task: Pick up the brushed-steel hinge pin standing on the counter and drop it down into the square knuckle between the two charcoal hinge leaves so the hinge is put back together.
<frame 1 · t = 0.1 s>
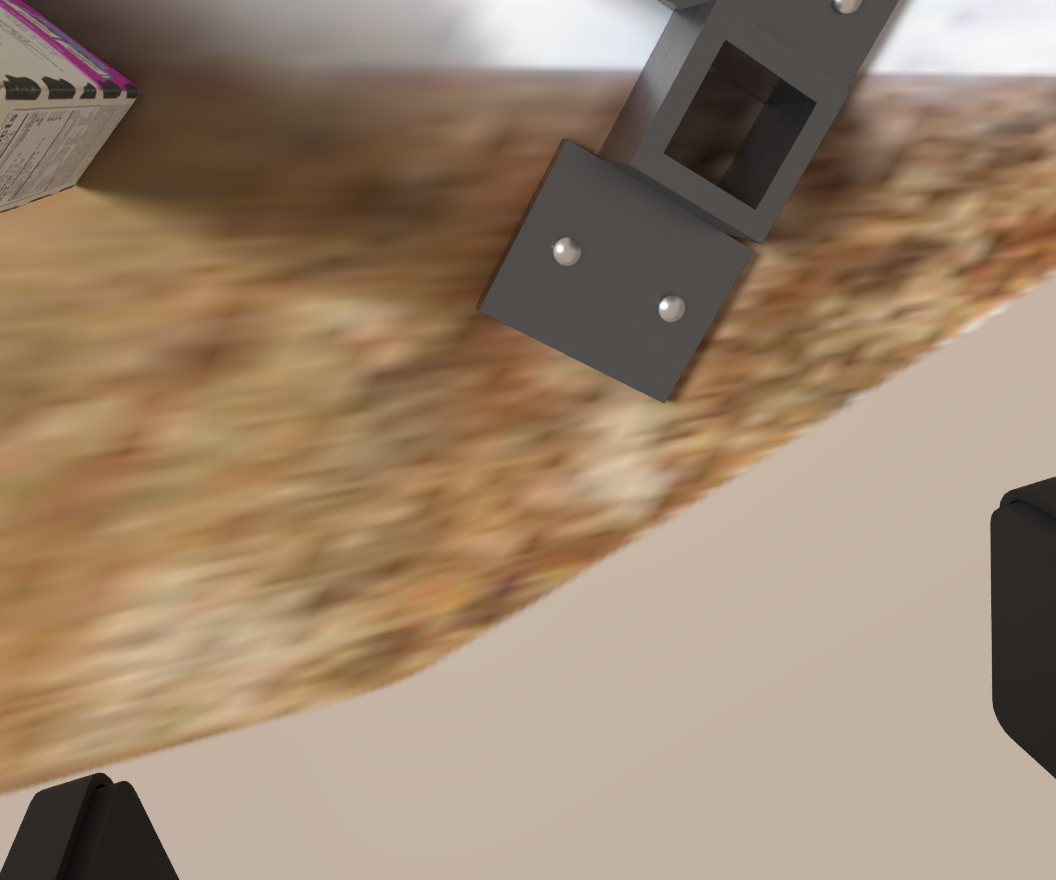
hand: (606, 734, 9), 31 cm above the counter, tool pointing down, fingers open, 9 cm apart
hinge: (696, 126, 39), on the counter
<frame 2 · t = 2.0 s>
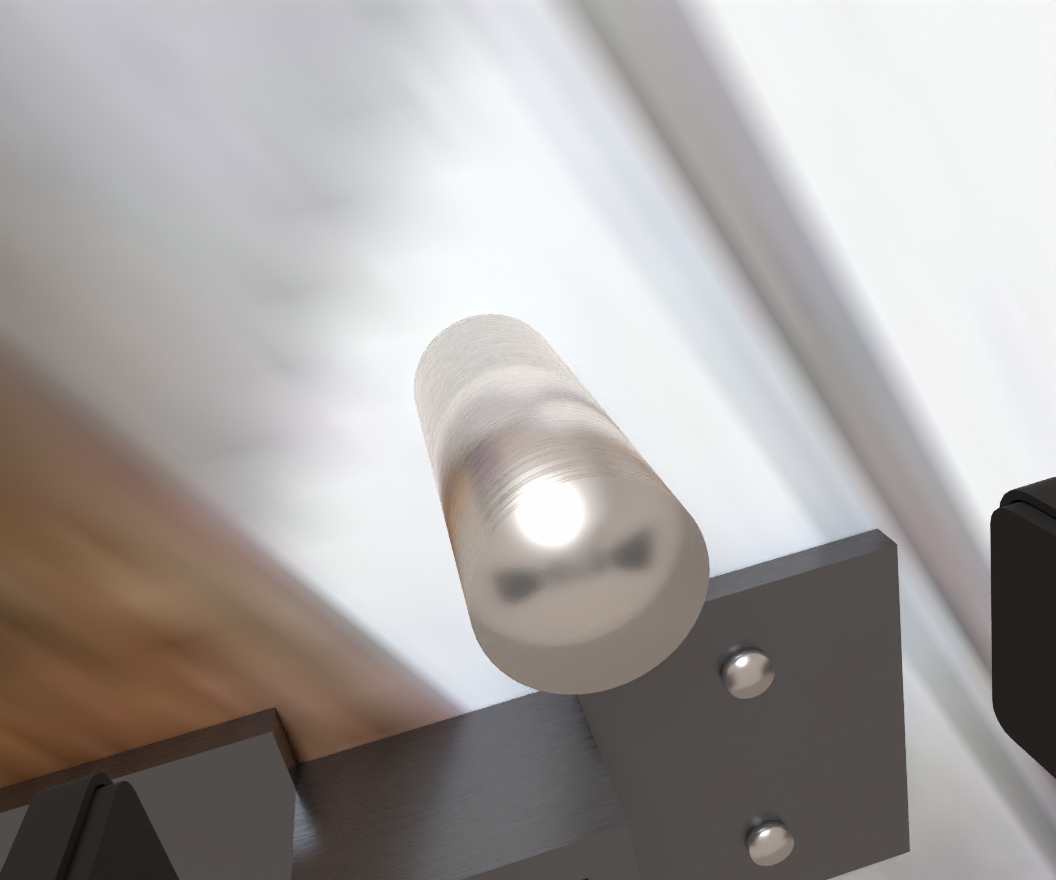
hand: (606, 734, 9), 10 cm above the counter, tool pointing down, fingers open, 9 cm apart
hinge: (468, 824, 22), on the counter
pin: (488, 387, 18), on the counter
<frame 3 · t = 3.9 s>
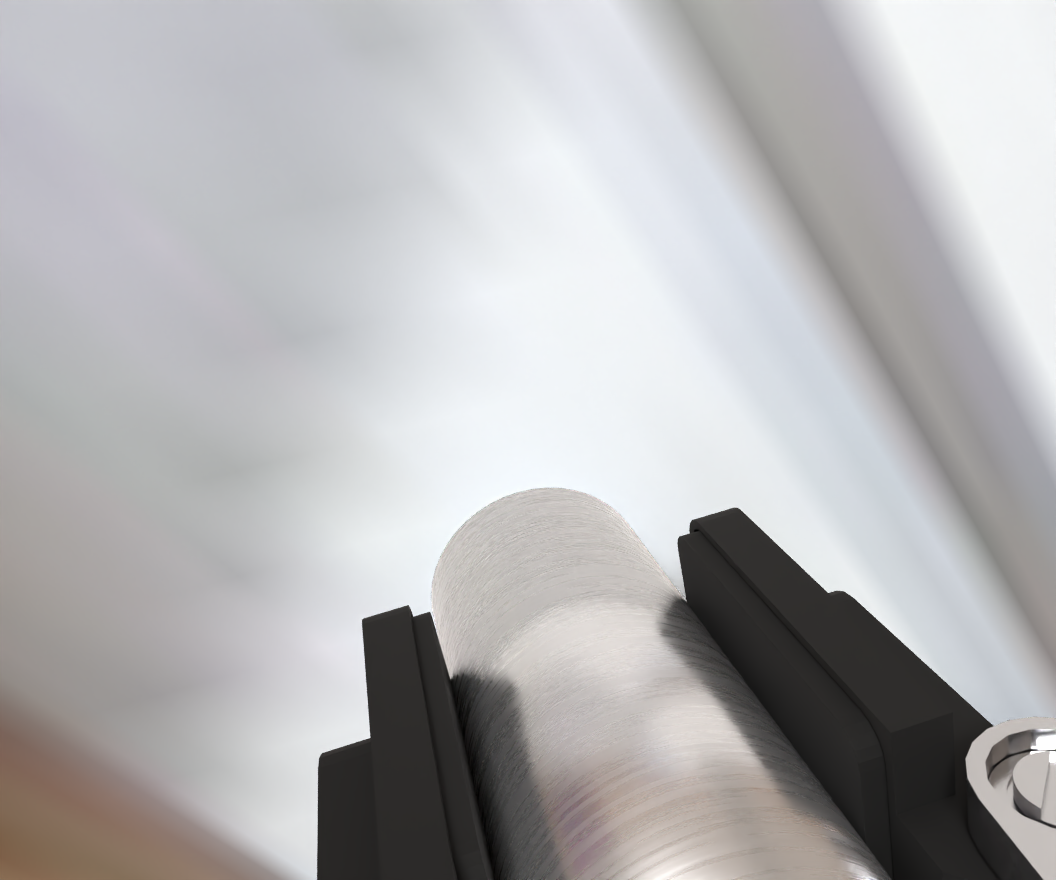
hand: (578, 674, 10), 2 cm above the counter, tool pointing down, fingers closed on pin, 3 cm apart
pin: (540, 588, 12), on the counter, touching gripper
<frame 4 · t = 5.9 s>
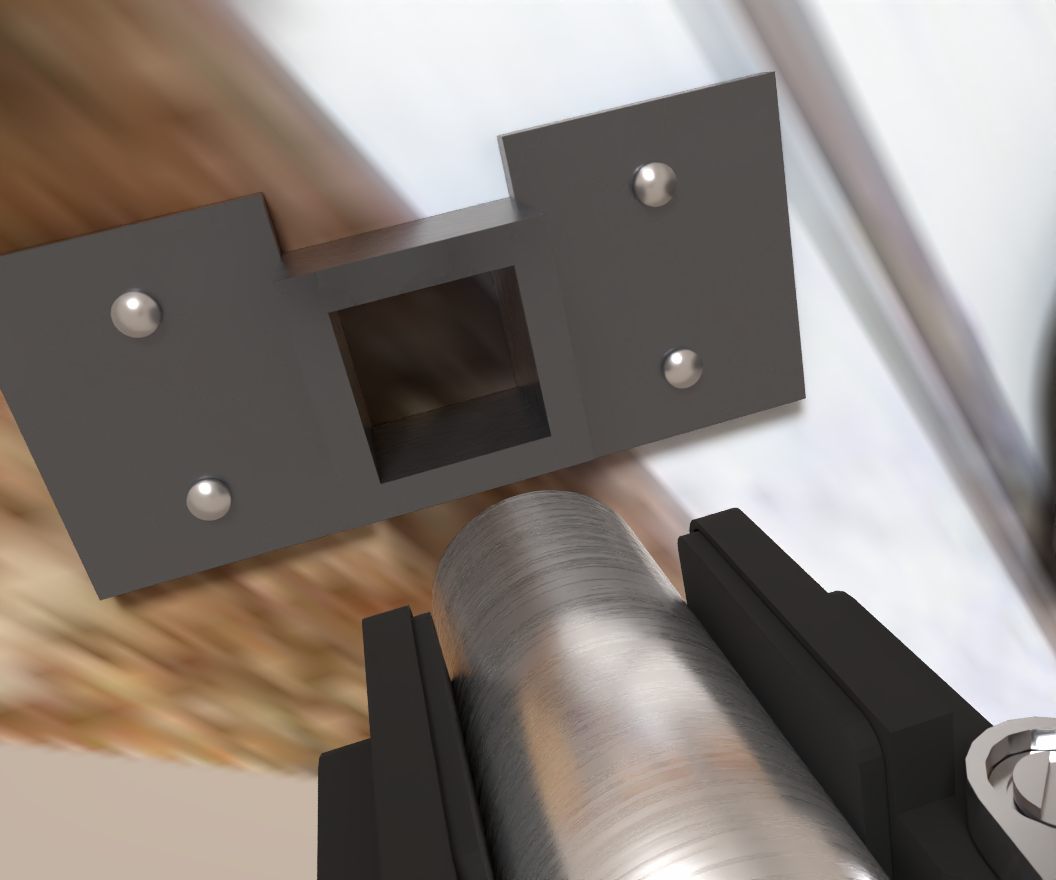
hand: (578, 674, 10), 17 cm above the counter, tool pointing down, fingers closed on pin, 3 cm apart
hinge: (426, 335, 26), on the counter
pin: (540, 591, 12), point 15 cm above the counter, touching gripper
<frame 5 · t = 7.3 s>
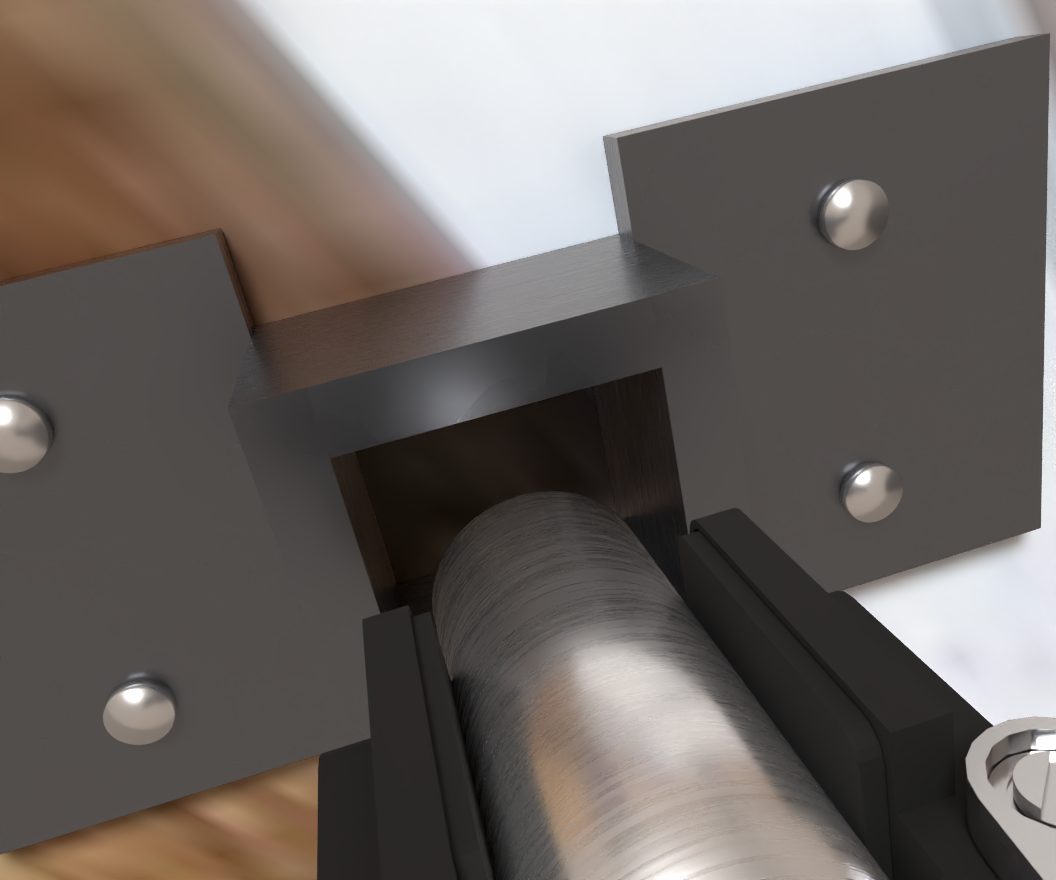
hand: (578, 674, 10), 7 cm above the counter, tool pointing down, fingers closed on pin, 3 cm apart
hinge: (483, 448, 17), on the counter
pin: (541, 591, 12), point 5 cm above the counter, touching gripper
when the fingers open (5 cm above the counter, at t = 8.2 s): pin drops 3 cm, resting in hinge.
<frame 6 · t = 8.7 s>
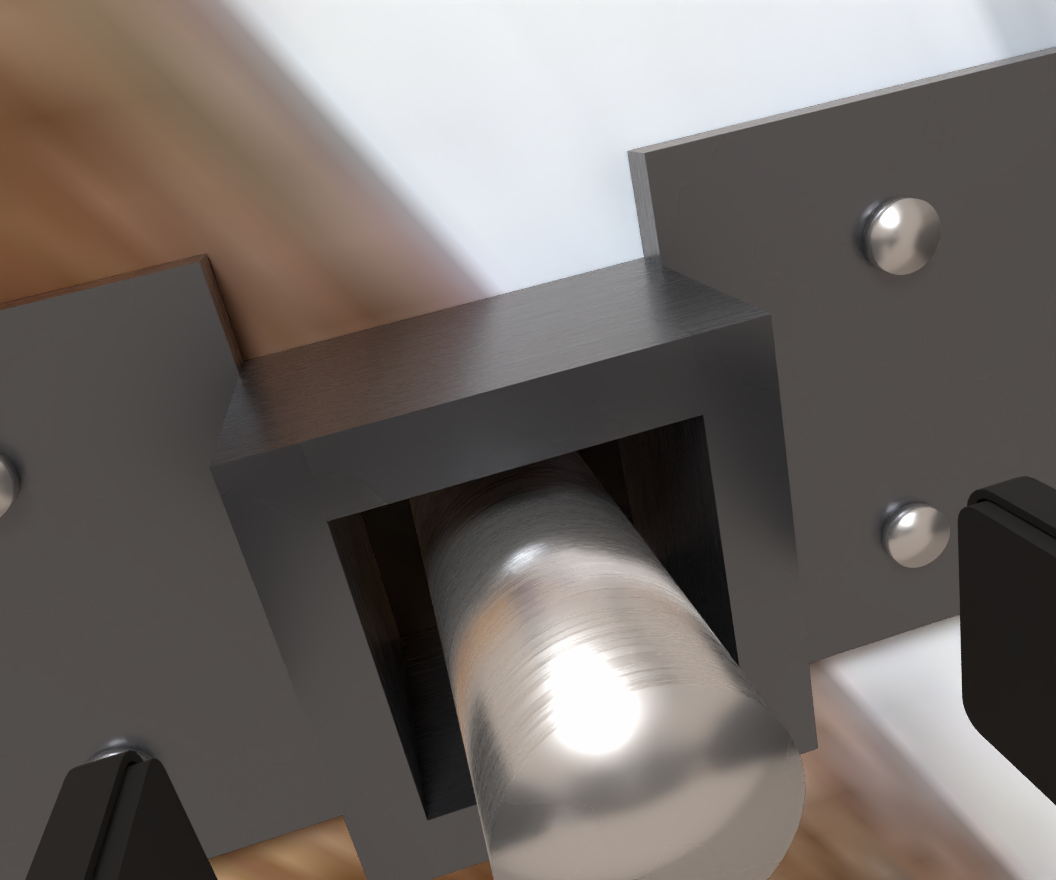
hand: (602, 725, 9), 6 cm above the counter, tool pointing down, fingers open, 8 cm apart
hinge: (495, 490, 15), on the counter
pin: (496, 487, 15), resting in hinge
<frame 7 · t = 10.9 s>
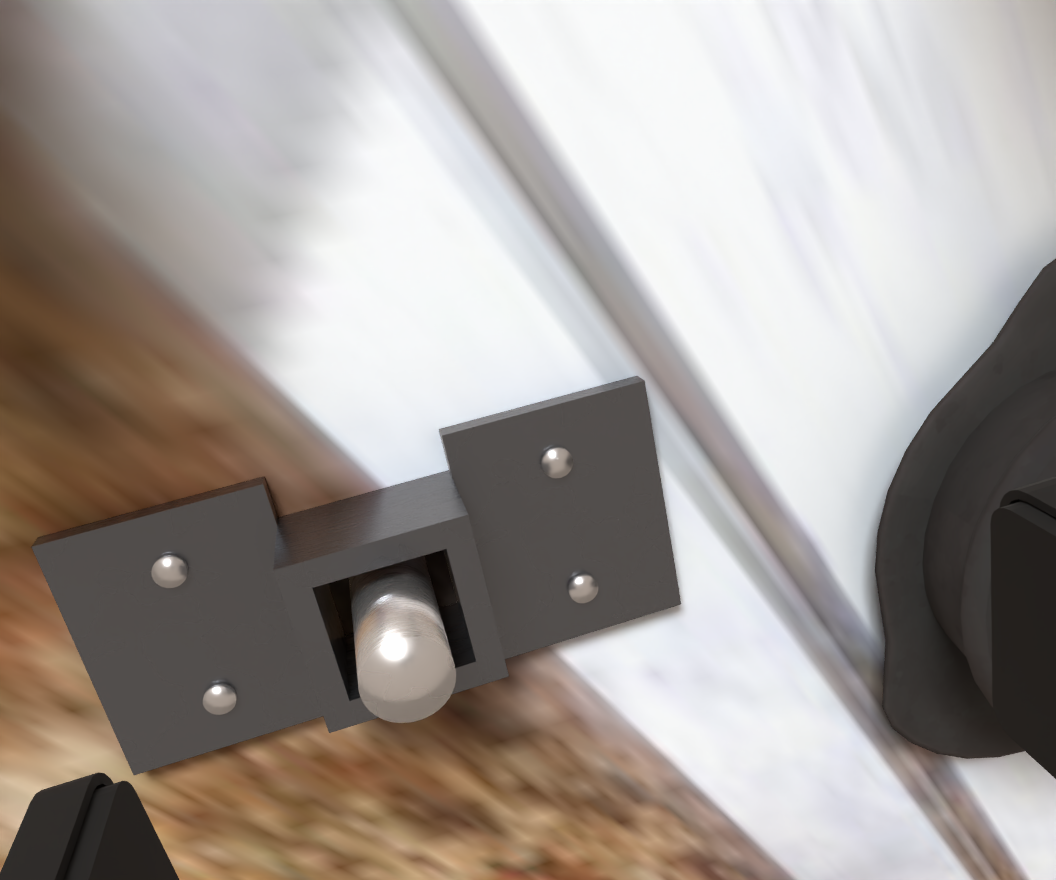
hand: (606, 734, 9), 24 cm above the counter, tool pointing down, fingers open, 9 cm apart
casserole: (1027, 500, 41), on the counter
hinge: (386, 569, 35), on the counter
pin: (387, 568, 35), resting in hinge
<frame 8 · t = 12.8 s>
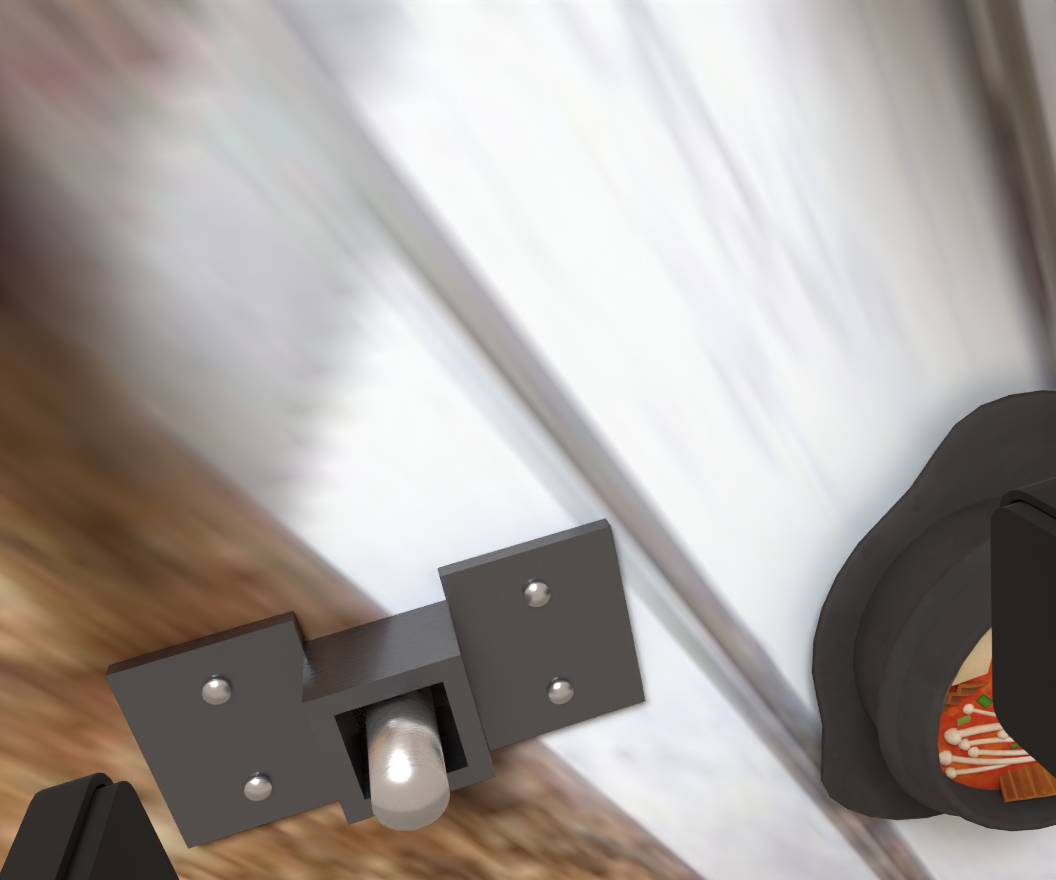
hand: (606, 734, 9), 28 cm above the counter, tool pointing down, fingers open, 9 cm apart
casserole: (952, 602, 48), on the counter
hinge: (395, 679, 42), on the counter
pin: (395, 678, 42), resting in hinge
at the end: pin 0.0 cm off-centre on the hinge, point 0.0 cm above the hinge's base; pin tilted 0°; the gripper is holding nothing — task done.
